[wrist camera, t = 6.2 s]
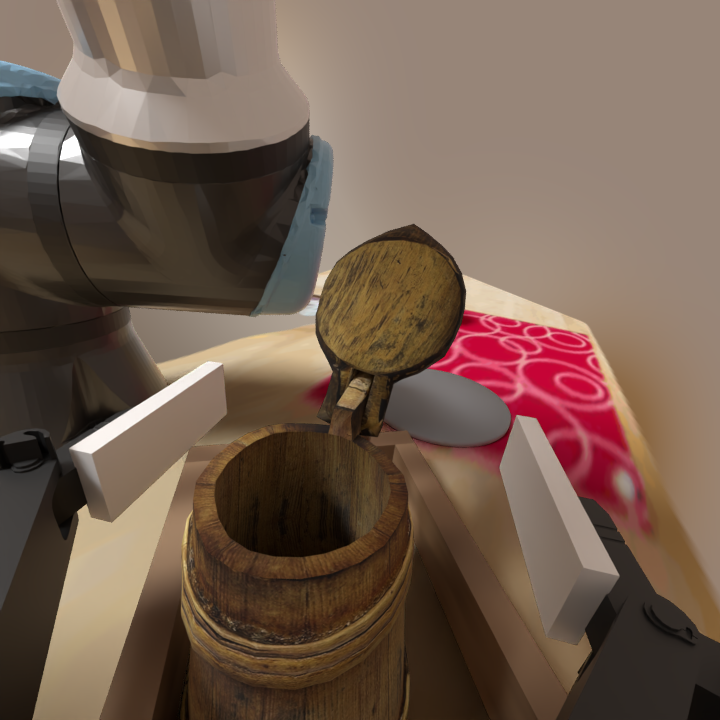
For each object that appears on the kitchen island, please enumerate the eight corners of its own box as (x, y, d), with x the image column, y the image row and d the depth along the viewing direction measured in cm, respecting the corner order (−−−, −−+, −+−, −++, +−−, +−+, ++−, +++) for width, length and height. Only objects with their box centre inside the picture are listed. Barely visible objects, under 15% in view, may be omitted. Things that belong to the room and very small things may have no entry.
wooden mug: (441, 546, 20) (526, 235, 13) (360, 975, 9) (723, 297, 1) (312, 496, 23) (325, 214, 16) (120, 771, 11) (-166, 179, 4)
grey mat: (354, 374, 41) (355, 369, 41) (462, 371, 45) (463, 367, 45) (394, 454, 28) (395, 448, 28) (542, 440, 32) (544, 435, 31)
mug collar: (196, 487, 23) (190, 446, 21) (400, 466, 27) (407, 430, 25) (-57, 1447, 5) (-185, 1570, 4) (656, 979, 9) (724, 954, 8)
